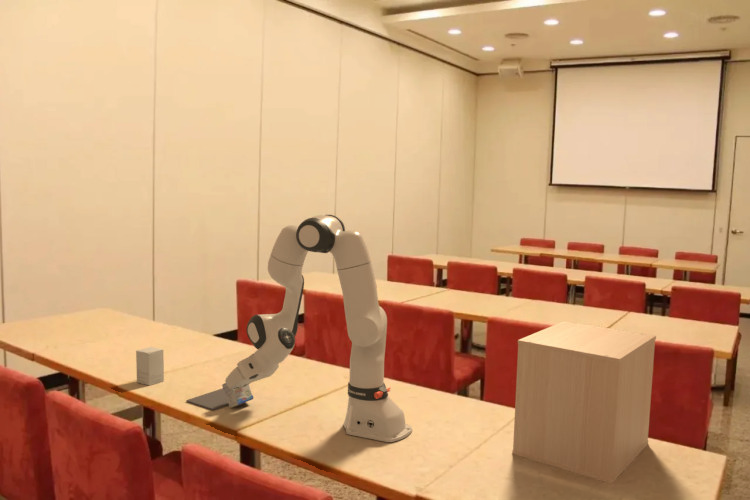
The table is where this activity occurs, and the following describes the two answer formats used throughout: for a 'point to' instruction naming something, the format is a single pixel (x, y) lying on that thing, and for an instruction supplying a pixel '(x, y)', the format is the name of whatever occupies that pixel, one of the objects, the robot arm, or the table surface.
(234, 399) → the medicine box
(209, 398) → the mat
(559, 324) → the cabinet
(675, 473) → the table surface
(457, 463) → the table surface
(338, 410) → the table surface
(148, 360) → the supplement box
